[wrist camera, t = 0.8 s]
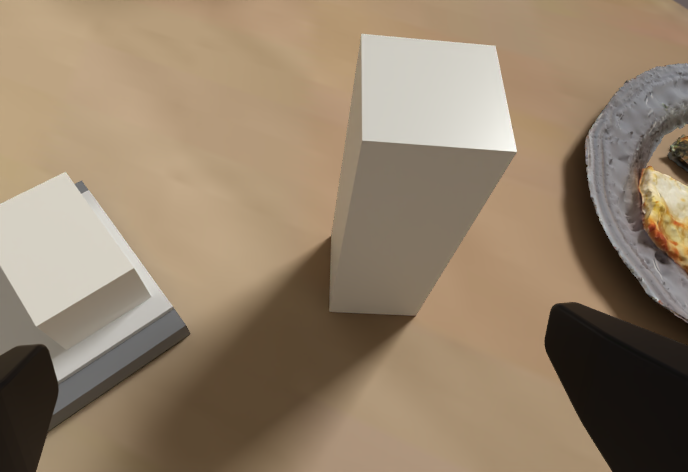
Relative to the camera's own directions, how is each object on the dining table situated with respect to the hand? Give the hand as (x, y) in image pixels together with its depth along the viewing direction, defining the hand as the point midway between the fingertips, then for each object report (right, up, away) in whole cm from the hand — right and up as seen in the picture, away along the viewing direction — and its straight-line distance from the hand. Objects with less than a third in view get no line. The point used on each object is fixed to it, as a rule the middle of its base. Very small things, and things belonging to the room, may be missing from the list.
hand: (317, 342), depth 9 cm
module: (+2, 0, +17) cm, 17 cm away
